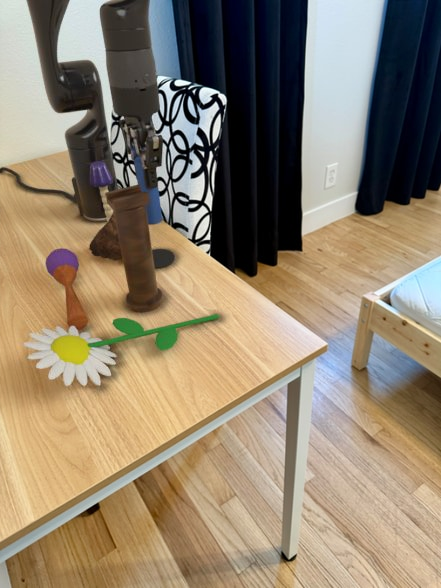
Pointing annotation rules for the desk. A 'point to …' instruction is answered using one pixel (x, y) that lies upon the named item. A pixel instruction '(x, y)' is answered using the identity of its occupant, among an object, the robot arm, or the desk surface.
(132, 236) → the post
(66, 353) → the decorative flower
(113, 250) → the decorative rock
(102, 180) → the toy lamp
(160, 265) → the coaster
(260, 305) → the desk surface
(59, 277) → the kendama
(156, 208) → the tube
